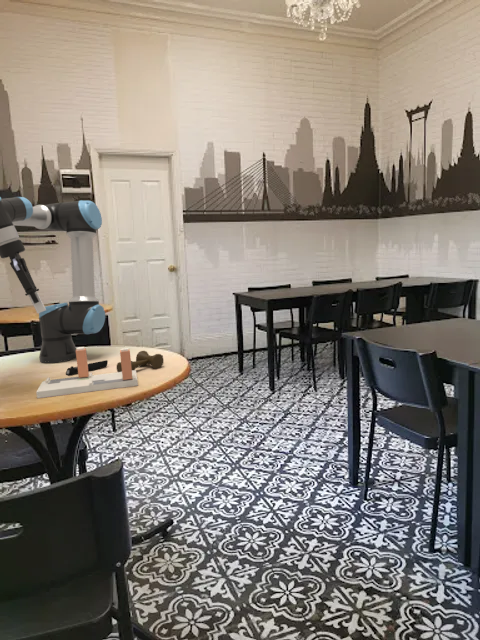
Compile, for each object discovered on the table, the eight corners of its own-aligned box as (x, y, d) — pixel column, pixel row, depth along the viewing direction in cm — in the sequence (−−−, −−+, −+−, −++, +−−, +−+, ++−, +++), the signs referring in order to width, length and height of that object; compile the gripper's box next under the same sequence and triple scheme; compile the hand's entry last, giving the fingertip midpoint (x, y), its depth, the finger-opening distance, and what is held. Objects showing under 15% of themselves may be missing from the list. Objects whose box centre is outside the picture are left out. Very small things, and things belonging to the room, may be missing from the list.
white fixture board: (43, 386, 154) (42, 378, 154) (136, 375, 161) (135, 367, 161) (36, 399, 140) (35, 390, 140) (138, 386, 148) (137, 377, 147)
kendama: (112, 375, 165) (155, 361, 180) (129, 380, 159) (172, 365, 174) (110, 359, 164) (153, 346, 179) (127, 363, 158) (170, 349, 173)
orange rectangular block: (122, 377, 150) (119, 348, 148) (132, 376, 150) (129, 347, 149) (122, 380, 147) (119, 350, 145) (132, 378, 148) (129, 349, 146)
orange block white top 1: (79, 375, 156) (76, 347, 154) (88, 374, 157) (85, 346, 155) (78, 377, 153) (75, 349, 152) (88, 376, 154) (85, 348, 152)
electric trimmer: (110, 368, 176) (109, 360, 175) (69, 377, 166) (68, 368, 165) (105, 367, 179) (105, 359, 178) (65, 375, 169) (64, 366, 168)
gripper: (0, 247, 151) (32, 313, 156) (-9, 247, 138) (27, 319, 144) (23, 239, 152) (54, 305, 158) (16, 238, 140) (51, 309, 146)
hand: (41, 311), depth 151 cm, fingers closed
